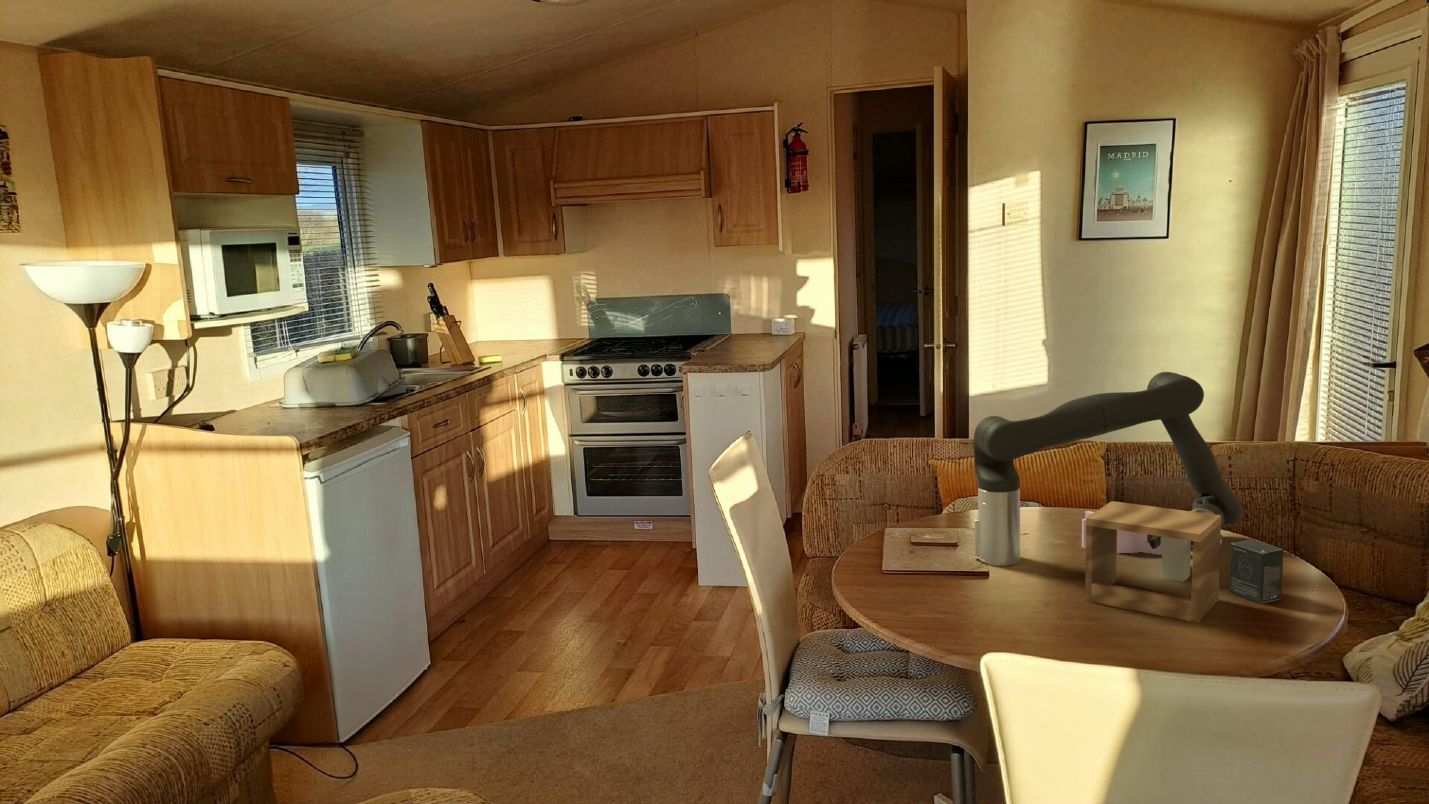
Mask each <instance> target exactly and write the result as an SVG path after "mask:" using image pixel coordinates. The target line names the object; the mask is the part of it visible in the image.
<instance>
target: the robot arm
mask: <svg viewBox="0 0 1429 804" xmlns="http://www.w3.org/2000/svg"><path fill="white" fill-rule="evenodd" d="M1204 397H1205V392H1204V389H1203V387H1202V386H1201V384H1200V383H1199V382H1198V381H1196V380H1195V379H1193V378H1191V377H1189V376H1186V375H1183V374H1179V373H1176V372H1171V371H1162V372H1159V373H1157V374H1155V375H1154V376H1153V377H1152V378H1150V381H1149V382H1148V384H1147V387H1146V389H1144V390H1140V391H1139V390H1138V391H1127V392H1126V391H1122V392H1120V391H1119V392H1104V393H1095V394H1091V395H1086V396H1082V397H1079V398H1078V397H1077V398H1075V399H1072V400H1069V401H1067V402H1064V403H1063V404H1061V405H1059V406H1057V407H1056V408H1054V409H1053V410H1050V411H1049V412H1048V413H1045V414H1044V415H1040V416H1035V417H1031V418H1027V419H1019V420H1009V419H1006V418H1005V417H1002V416H998V415H990V416H987V417H985V418H983V419H982V420H980V422H979V423H978V424H977V425H976V427H975V430H974V433H973V461H974V471H975V476H976V479H977V501H978V504H977V505H978V506H977V507H978V509H977V510H978V511H977V512H978V514H977V516H978V517H977V518H976V519H975V520H974V557H975V556H977V557H980V558H981V559H984V560H985V562H987V564H986V565H990V566H995V567H1000V566H1001V567H1004V566H1005V567H1006V566H1013V565H1016V564H1019V562H1020V561H1021V478H1020V475H1019V472H1018V471H1017V469H1016V466H1015V460H1017V459H1019V458H1021V457H1024V456H1028V455H1030V454H1032V453H1034V452H1037V451H1040V450H1043V449H1044V450H1045V449H1047V448H1050V447H1054V446H1059V445H1065V444H1068V443H1069V444H1070V443H1072V442H1073V443H1074V442H1076V441H1081V440H1085V439H1086V440H1087V439H1091V438H1094V437H1098V436H1103V435H1105V434H1109V433H1111V432H1112V433H1113V432H1115V431H1120V430H1123V429H1127V428H1130V427H1134V426H1137V425H1140V424H1144V423H1148V422H1153V421H1159V420H1160V421H1161V423H1162V425H1163V427H1164V429H1165V430H1166V432H1167V434H1168V436H1169V438H1170V440H1171V441H1172V444H1173V445H1174V448H1175V450H1176V452H1177V455H1178V457H1179V459H1180V462H1181V464H1182V468H1183V469H1184V473H1185V475H1186V478H1187V479H1188V482H1189V484H1190V485H1189V486H1190V488H1191V489H1192V491H1193V492H1195V493H1197V494H1202V495H1203V494H1204V495H1207V496H1201V497H1197V498H1196V499H1194V500H1193V502H1192V505H1191V506H1192V510H1190V511H1191V512H1199V513H1206V514H1214V515H1221V529H1222V528H1223V526H1224V525H1233V524H1237V523H1239V522H1240V521H1241V520H1242V517H1243V515H1244V514H1243V513H1244V508H1243V505H1242V503H1241V501H1240V499H1239V497H1238V496H1237V494H1236V493H1235V492H1234V491H1233V490H1232V488H1231V487H1230V486H1229V485H1228V483H1227V482H1226V481H1225V480H1224V478H1223V476H1222V473H1221V470H1220V468H1219V465H1218V462H1217V460H1216V458H1215V455H1214V453H1213V452H1212V449H1211V448H1210V446H1209V445H1208V443H1207V441H1205V439H1204V437H1203V436H1202V435H1201V433H1200V432H1199V431H1198V429H1197V428H1196V426H1195V424H1194V422H1193V420H1192V418H1191V416H1190V414H1193V413H1194V412H1195V411H1197V410H1198V409H1199V408H1200V407H1201V405H1202V403H1203V402H1204ZM1208 495H1209V496H1208ZM1147 542H1148V543H1150V546H1151V548H1152V549H1156V548H1157V547H1159V546H1160V545H1162V541H1161V536H1155V535H1149V534H1147ZM1222 546H1223V534H1221V537H1220V549H1221V548H1222ZM1191 551H1193V541H1191Z"/></svg>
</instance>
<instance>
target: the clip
mask: <svg viewBox="0 0 1429 804" xmlns="http://www.w3.org/2000/svg"><path fill="white" fill-rule="evenodd" d="M1094 512H1095V511H1091V510H1090V511H1089V510H1086V511H1085V512H1084V513H1085V518H1082V519H1081V548H1084V549H1086V518H1087V517H1088V516H1090V515H1091V514H1093V513H1094ZM1161 541H1162V536H1161ZM1138 552H1143V554H1150V553H1152V554H1151V555H1159V556H1162V545H1160V546H1159V547H1157V548H1156V549H1152V548H1151V546H1150V543H1148V542H1147V534H1142V533H1135V532H1129V531H1122V530H1117V553H1131V554H1136V553H1137V554H1139V553H1138Z"/></svg>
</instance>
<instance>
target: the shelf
mask: <svg viewBox="0 0 1429 804" xmlns="http://www.w3.org/2000/svg"><path fill="white" fill-rule="evenodd" d="M1093 512H1094V513H1093V514H1091V515H1090V516H1088V517H1087V518H1086V548H1085V590H1084V591H1085V594H1084V595H1085V598H1084V599H1085V600H1084V601H1085V602H1089V603H1094V604H1100V605H1104V606H1110V607H1114V608H1120V609H1126V610H1131V611H1135V612H1141V613H1145V614H1150V615H1156V616H1160V617H1164V618H1165V617H1167V618H1170V619H1171V618H1172V619H1176V620H1181V621H1184V622H1185V621H1187V622H1192V623H1197V624H1198V623H1199V622H1200V621H1201V620H1202V619H1203V617H1205V615H1206V614H1207V613H1208V612H1209V611H1210V610H1211V609H1212V607H1214V605H1215V604H1216V603H1217V602H1218V601H1219V599H1220V598H1219V596H1220V595H1219V593H1220V592H1219V589H1220V565H1221V564H1220V562H1221V561H1220V559H1221V548H1220V537H1221V535H1222V533H1221V531H1222V528H1221V515H1214V514H1206V513H1199V512H1191V510H1182V509H1175V508H1166V507H1159V506H1154V505H1153V506H1152V505H1145V504H1137V503H1129V502H1123V501H1122V502H1120V501H1114V500H1111V501H1110V502H1108V503H1106V504H1105V505H1104V506H1102V507H1101V508H1099V509H1097V510H1096V511H1093ZM1117 530H1122V531H1129V532H1135V533H1142V534H1149V535H1155V536H1162V537H1169V538H1176V539H1182V540H1189V541H1193V550H1192V563H1191V565H1192V568H1191V569H1192V571H1191V598H1185V597H1180V596H1175V595H1169V594H1163V593H1159V592H1152V591H1148V590H1143V589H1142V590H1141V589H1137V588H1131V587H1126V586H1121V585H1117V584H1116V585H1115V583H1116V582H1117V557H1118V554H1117ZM1217 600H1218V601H1217ZM1201 618H1202V619H1201ZM1199 620H1200V621H1199Z"/></svg>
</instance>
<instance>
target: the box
mask: <svg viewBox="0 0 1429 804" xmlns="http://www.w3.org/2000/svg"><path fill="white" fill-rule="evenodd" d="M1283 566H1284V548H1281V547H1278V546H1275V545H1271V544H1268V543H1264V542H1262V541H1258V540H1254V539H1246V540H1240V541H1235V542H1231V543H1230V566H1229V567H1230V568H1229V574H1230V575H1229V593H1231V594H1234V595H1236V596H1237V595H1238V596H1241V597H1242V598H1245V599H1248V600H1251V601H1253V602H1256V603H1259V604H1264V603H1266V604H1267V603H1271V602H1275V601H1280V600H1282V596H1283V595H1282V594H1283V593H1282V592H1283V572H1284V570H1283V569H1284V567H1283Z"/></svg>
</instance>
